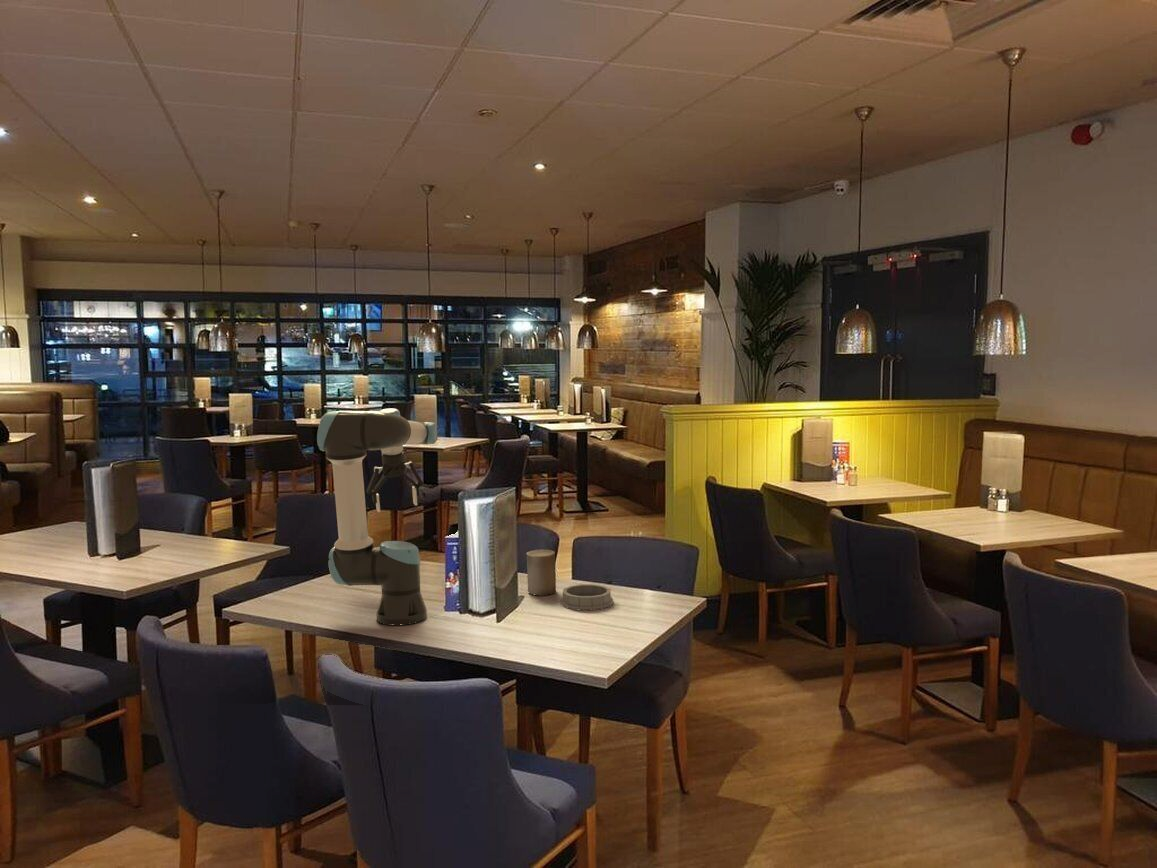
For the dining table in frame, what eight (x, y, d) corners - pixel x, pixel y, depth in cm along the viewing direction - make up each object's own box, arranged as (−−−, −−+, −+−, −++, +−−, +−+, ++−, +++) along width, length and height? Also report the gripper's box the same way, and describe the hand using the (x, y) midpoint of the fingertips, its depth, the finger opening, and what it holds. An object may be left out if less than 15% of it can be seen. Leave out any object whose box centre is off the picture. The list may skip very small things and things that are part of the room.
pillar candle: (557, 588, 291) (556, 545, 290) (554, 596, 281) (553, 552, 280) (529, 588, 292) (528, 545, 291) (525, 596, 282) (524, 552, 281)
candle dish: (612, 610, 265) (612, 598, 264) (558, 610, 266) (558, 597, 265) (613, 595, 282) (613, 583, 281) (562, 595, 283) (562, 583, 282)
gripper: (423, 444, 308) (427, 498, 314) (354, 454, 298) (360, 510, 304) (429, 449, 302) (433, 504, 308) (359, 460, 291) (364, 517, 297)
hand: (397, 507), depth 306 cm, fingers open, 13 cm apart
